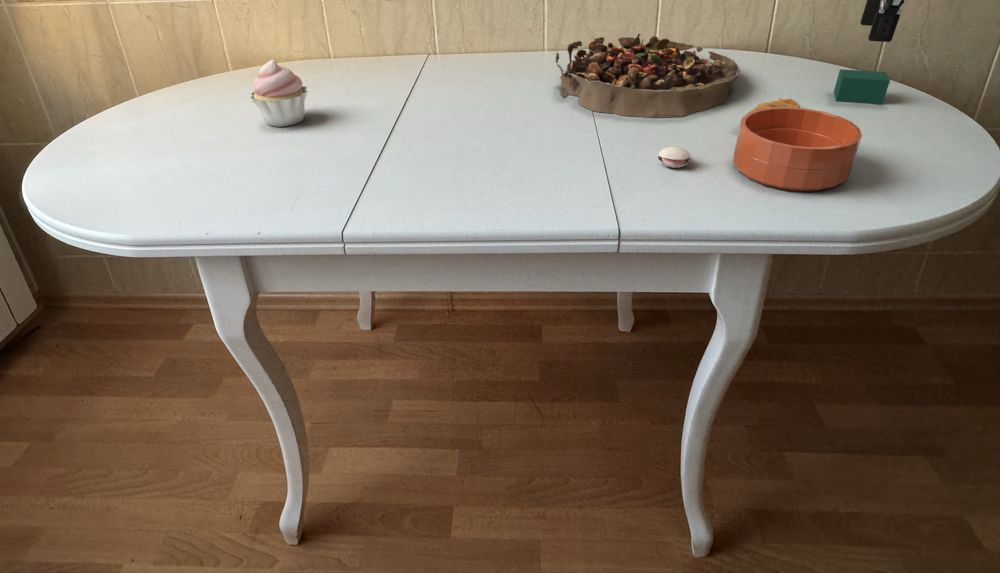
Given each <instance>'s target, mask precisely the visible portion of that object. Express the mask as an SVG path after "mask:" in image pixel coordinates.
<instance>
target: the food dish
mask: <svg viewBox="0 0 1000 573" xmlns="http://www.w3.org/2000/svg"><path fill="white" fill-rule="evenodd" d="M640 36H641V33H637V35H636V36H635V37H631V36H626V37H625V36H624V37H623V36H622V37H619V38H618V43H619V45H620V46H618V47H617V46H614V44H613V43H612V42H608V44H607V45H605V44H604V42H605V38H604V37H602V36H601V37H598V38H595V39H594V40H592V41H590V42H589V43H588V52H587V50H586V49H581V48H580V49H578V47H582V45H583V42H582V41H581V40H577V41H573V42H571V43H569V44H568V46H567V49H566V51H567V52H568V58H569V63H568V64H567V65H566V70H564V69H563V68H562V66H561V65H560V64H558V63H559V60H560V54H559V52H556V53H555V63H556V66H557V68H558V69H559V70H560V72H561V76H560V84H561V85H560V86H561V87H559V88H558V90H559V91H558V92H559V95H560V96H561V98H562V99H564V98H566V97H567V96H569V95H570V96H572V97H578V99H577V104H578V105H579V106H580V107H583V108H586V109H587V110H590V111H591V112H597V113H604V114H614V115H618V116H621V117H639V118H651V119H652V118H653V119H654V118H655V119H656V118H658V119H659V118H683V117H686V116H688V115H690V114H693V113H697V112H699V111H701V112H702V111H705V110H709V109H711V108H714V107H716V106H719V105H721V104H723V103H724V102H725V100H724V99H726V98H727V97H728V94H729V89H730V87H731V85H732V84H733V82H735V81H736V80H737V79H738V78H739V76H740V72H741V68H740V67H739V64H738V63H737V62H736V61H735V60H734V59H731V57H728V56H727V55H723V54H720V53H716V52H713V51H708V54H709V57H708V58H709V59H710V60H711V61H713V62H711V61H709V59H708V58H700V57H699V55H697V53H701V52H702V51H703V50H704V48H703V47H701V46H697V47H696V50H693V51H691V49H692V48H693V47H695V45H693V44H686V43H684V42H677V41H672V40H671V41H670V39H669V38H666V37H665V38H661V39H659V37H658V36H656V35H652V37H651V38H649V41H648V42H646V43H645V44H643V43H644V39H642V40H641V38H640ZM574 49H575V50H576V49H577V52H576V54H574V55H573V51H574ZM681 52H682V53H681ZM572 56H573V57H574V59H572Z"/></svg>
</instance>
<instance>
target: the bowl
mask: <svg viewBox="0 0 1000 573" xmlns="http://www.w3.org/2000/svg"><path fill="white" fill-rule="evenodd" d="M749 112H750V111H749ZM737 132H738V133H737V136H736V141H735V147H734V152H733V165H734V166H735V168H736V169H737V170H738V171H739V172H740V173H741V174H743V175H744V176H745V177H747V178H748V179H750V180H752V181H754V182H756V183H758V184H761V185H764V186H767V187H770V188H775V189H779V190H786V191H793V192H815V191H816V192H817V191H821V190H822V191H823V190H826V189H830V188H833V187H836V186H838V185H841V184H842V183H845V182H846V181H847V179H848V177H849V176H850V174H851V171H852V169H853V168H852V167H853V165H854V161H855V159H856V155H857V152H858V149H859V146H860V143H861V140H862V136H863V134H862V131H861V129H860V127H859V126H857V125H856V124H855V123H854V122H852V121H850V120H848V119H846V118H844V117H842V116H840V115H836V114H833V113H830V112H826V111H822V110H816V109H810V108H804V107H800V108H793V107H775V108H766V109H759V110H755V111H753V112H750V113H748V112H747V113H746V114H744V116H743V117H741V119H740V122H739V128H738V131H737Z"/></svg>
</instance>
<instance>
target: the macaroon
mask: <svg viewBox="0 0 1000 573" xmlns="http://www.w3.org/2000/svg"><path fill="white" fill-rule="evenodd" d="M657 159H658V162H659V163H661V164H662V165H663V166H665V167H666V168H667V167H668V168H672V169H675V168H678V169H679V168H681V167H684V166H687V165H689V163H690V161H691V153H690V151H689V150H686V149H685V148H683V147H679V146H667V147H665V148H662V149H661V150H660V151H659V153H658V156H657Z"/></svg>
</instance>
